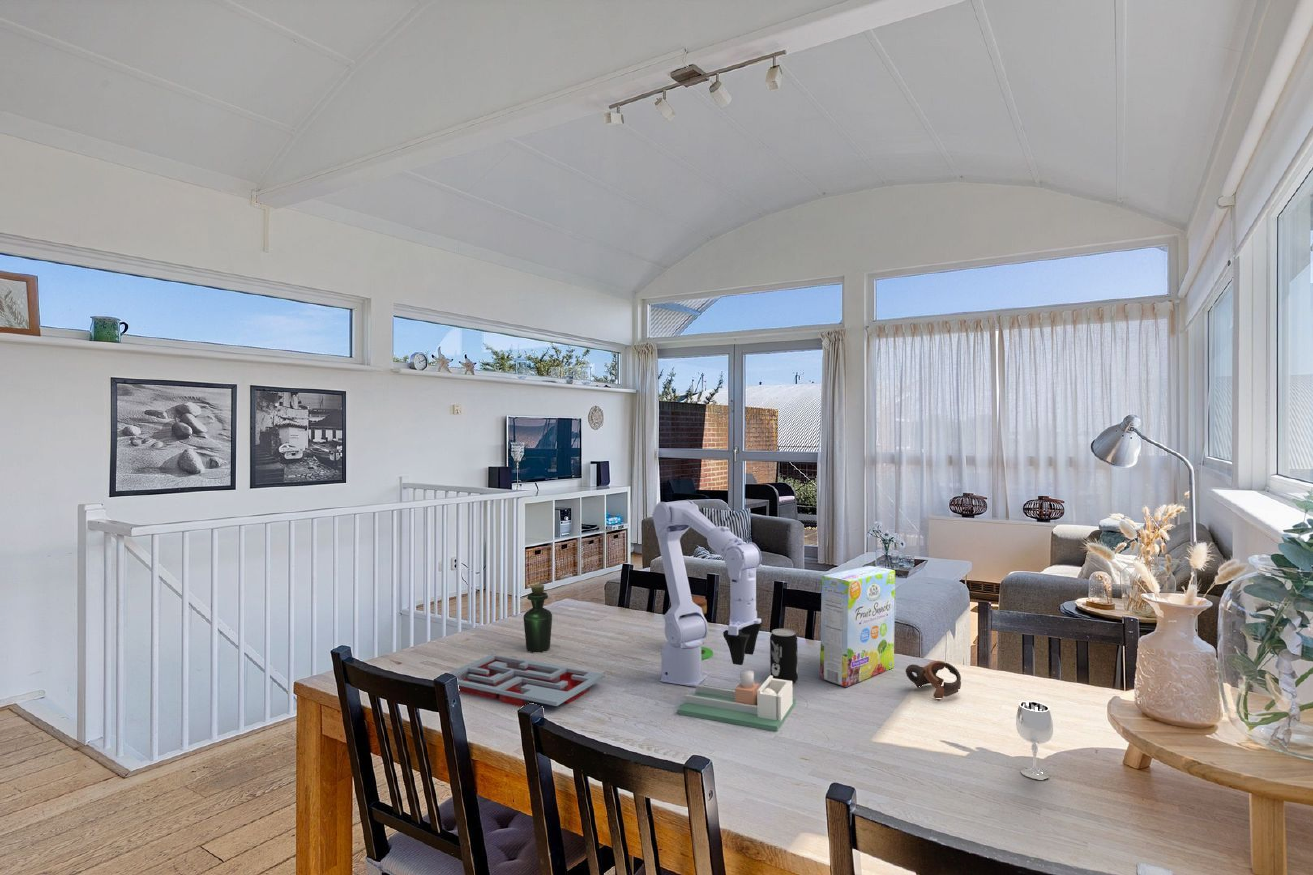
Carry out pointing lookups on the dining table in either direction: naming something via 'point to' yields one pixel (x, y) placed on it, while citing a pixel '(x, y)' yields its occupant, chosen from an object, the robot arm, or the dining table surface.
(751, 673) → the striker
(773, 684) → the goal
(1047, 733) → the wineglass
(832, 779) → the dining table surface
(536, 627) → the potion bottle
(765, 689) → the ball
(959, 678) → the brown curved loop
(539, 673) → the maze game
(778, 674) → the beverage can
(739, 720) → the pitch board
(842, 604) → the snack box
